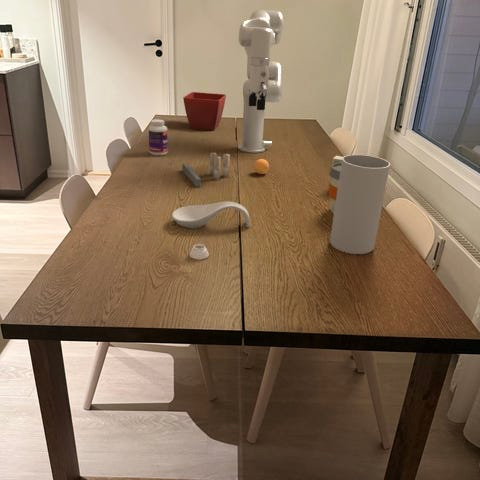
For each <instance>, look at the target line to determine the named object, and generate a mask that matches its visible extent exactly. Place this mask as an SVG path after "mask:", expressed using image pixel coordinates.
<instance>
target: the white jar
mask: <svg viewBox="0 0 480 480" xmlns="http://www.w3.org/2000/svg"><path fill="white" fill-rule="evenodd" d="M209 255H210V254H209V250H208V249H207V247H206V246H205V245H204V244H203V243H196V244H194V245H193V246H192V248H191V249H190V251H189V257H190V258H192V259H194V260H206V259H207V258H208V257H209Z"/></svg>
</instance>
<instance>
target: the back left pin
mask: <svg viewBox="0 0 480 480" xmlns="http://www.w3.org/2000/svg"><path fill="white" fill-rule="evenodd" d="M221 160H222V158H221V156H215V157H214V176H213V180H216V181H219V180H220V179H221Z"/></svg>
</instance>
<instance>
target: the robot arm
mask: <svg viewBox="0 0 480 480" xmlns="http://www.w3.org/2000/svg"><path fill="white" fill-rule="evenodd" d="M283 29H284V17H283V13H281V12H280V11H279V10H271V9H270V10H269V9H268V10H267V9H257V10H255V11H252V13H251V15H250V17H249V19H248V20H245V21H243V22H241V24H240V26H239V30H238V43H239V45H240V46H241V47H243V48H244V51H245V53H246V57H247V59H246V61H247V62H246V78H247V80H245V81H244V82H243V85H242V95H243V113H242V115H243V116H242V117H243V119H242V134H241V144H239V145H238V146H237V148H238V150H239V151H241V152H244V153H252V154H257V153H258V154H259V153H264V152H265V150H266V146H272V145H273V143H272V142H273V141H272V140H271V141H267V140H264V138H263V137H264V125H265V124H264V123H265V109H266V103H279V102H280V101H281V99H282V96H283V67H282V65H281V63H280V62H278V61H273V60H272V61H271V60H270V58H271V56H270V55H271V48H272V47H273V46H274V45H277V44H280V41H281V39H282V33H283Z"/></svg>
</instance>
